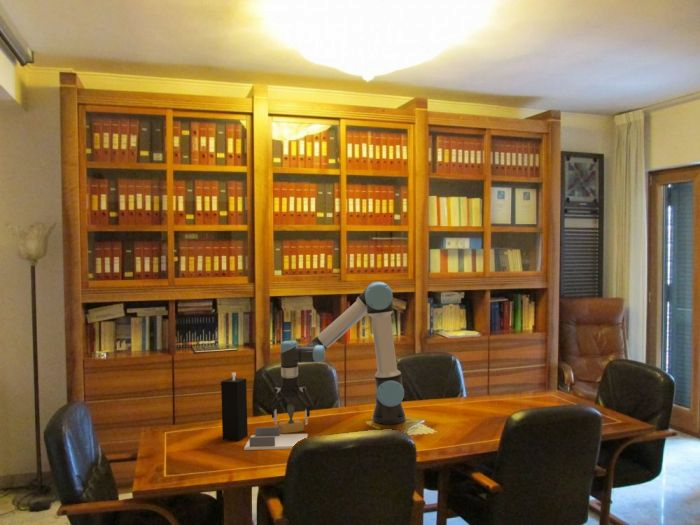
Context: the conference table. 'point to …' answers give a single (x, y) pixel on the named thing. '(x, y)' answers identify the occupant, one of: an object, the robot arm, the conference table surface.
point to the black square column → (234, 408)
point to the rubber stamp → (291, 423)
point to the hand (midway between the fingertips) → (291, 424)
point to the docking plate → (272, 439)
